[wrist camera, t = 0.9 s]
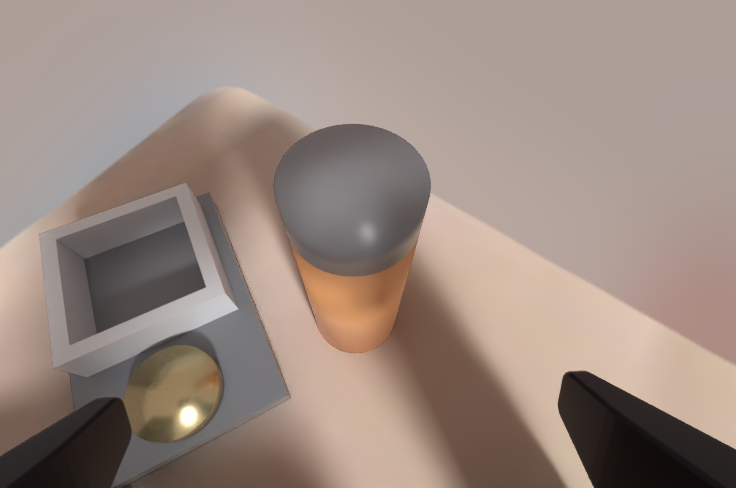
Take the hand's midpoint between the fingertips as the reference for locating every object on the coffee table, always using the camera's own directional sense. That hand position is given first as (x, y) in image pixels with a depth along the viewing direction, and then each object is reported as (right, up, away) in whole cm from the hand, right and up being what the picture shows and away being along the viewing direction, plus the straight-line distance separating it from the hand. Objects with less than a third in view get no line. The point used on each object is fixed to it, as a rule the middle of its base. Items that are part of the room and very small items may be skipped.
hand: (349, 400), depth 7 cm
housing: (-12, -2, +15) cm, 19 cm away
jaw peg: (0, -1, +16) cm, 16 cm away
